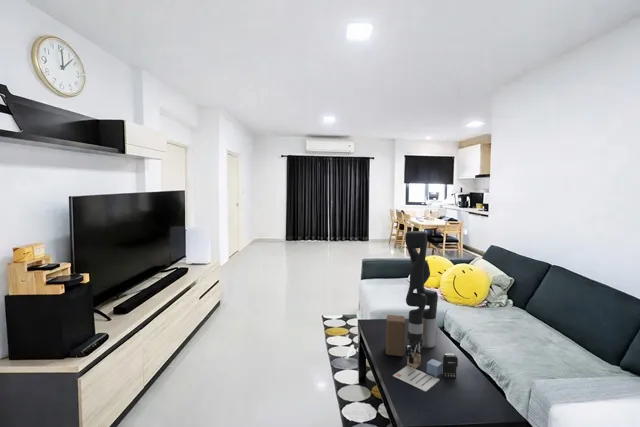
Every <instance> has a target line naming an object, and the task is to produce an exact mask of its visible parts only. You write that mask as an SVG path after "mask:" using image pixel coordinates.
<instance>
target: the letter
mask: <svg viewBox="0 0 640 427" xmlns="http://www.w3.org/2000/svg"><path fill="white" fill-rule="evenodd" d="M392 377H393V378H396V379H398V380H401V381H402V382H404V383H407V384H409V385H411V386H413V387H415V388H417V389H419V390H421V391H422V392H428V391H429V390H430V389H431V388H432V387H433V386H435V385H436V384H437V383H438V382H439V381H440V378H438V377H435V376H433V375H431V374H428V373H427V372H426V373H425V372H423V371H421V370H419V369H418V368H416V369H415V368H413V367H410V366H408V365H407V364H406V365H405V366H404V367H403V368H401V369H400V370H399V371H397V372H396V373H394V374H393V375H392Z"/></svg>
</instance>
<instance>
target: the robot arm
mask: <svg viewBox="0 0 640 427" xmlns="http://www.w3.org/2000/svg"><path fill="white" fill-rule="evenodd" d="M404 240H405V245H406V248H407V252H408V256H409V259H410V264H411V268H410V271H409V285H408V290H407V293H406V298H405V302H406V305H407V306H408V307H414V308H415V309H410V310H409V312H408V324H407V339H408V341H409V342H408V345H405V355H406V357H407V356H408V357H409V363H411V364H413V356H414V353H418V354H420V353H421V351H423V348H426V349H431V348H434V347H435V344H436V327H437V326H436V322H437V311H438V301H439V300H438V299H439V294H438V292H437V291H436V290H432V289H427V288H425V283H427V281H428V280H429V279H430V277H431V270H430V265H429V263H428V261H427V260H426V259H427V258H426V257H427V256H426V255H427V250H428V235H427V232H426V231H423V230H415V231H414V230H409V231H407V232H405V235H404ZM417 249H419V252H418V250H417ZM415 290H416V292H414V291H415ZM426 306H428V307H429V308H426ZM411 352H412V353H411Z"/></svg>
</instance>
